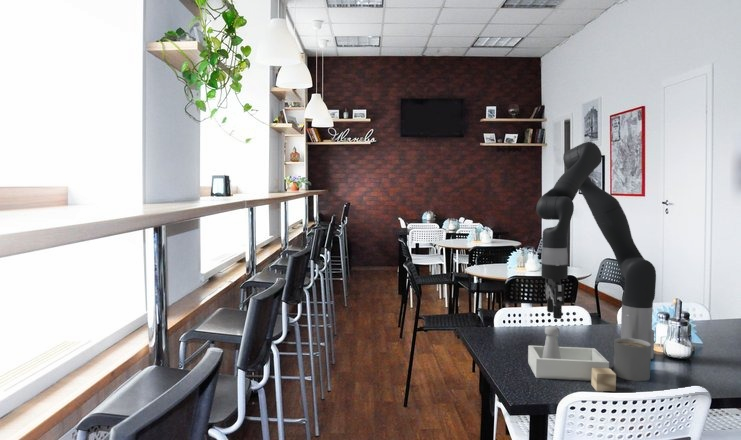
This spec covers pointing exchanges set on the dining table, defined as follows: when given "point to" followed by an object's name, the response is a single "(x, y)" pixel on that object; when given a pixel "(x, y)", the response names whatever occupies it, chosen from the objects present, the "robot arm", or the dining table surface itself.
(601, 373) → the beech cube
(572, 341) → the dining table surface
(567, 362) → the tray
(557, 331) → the salt shaker
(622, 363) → the coffee mug
